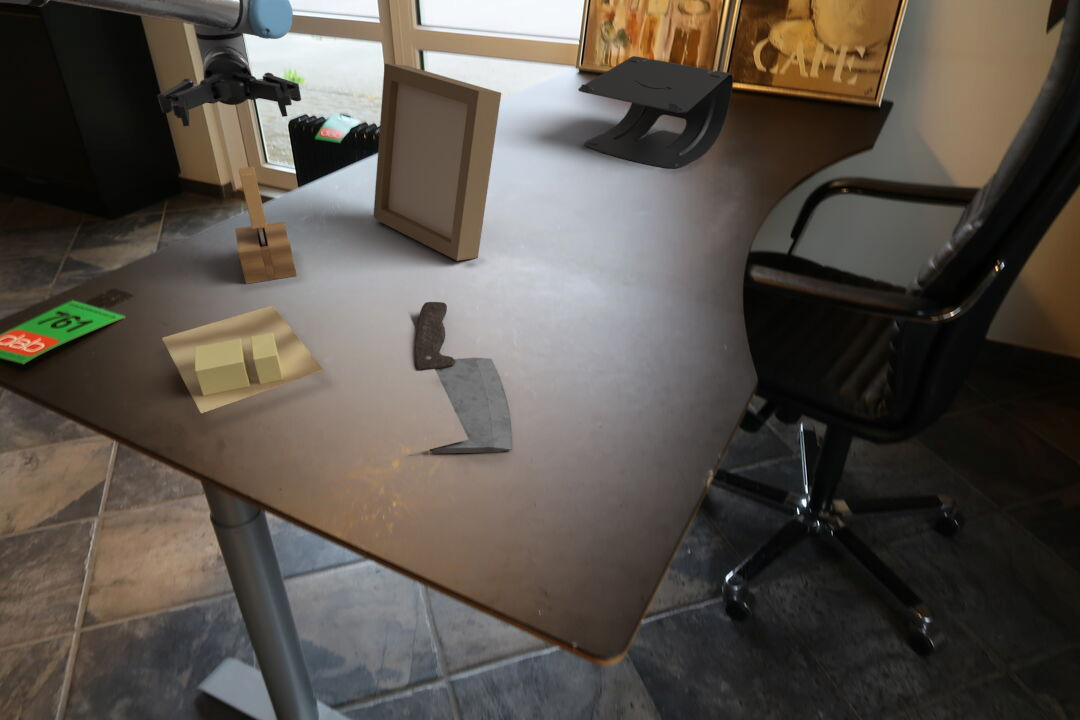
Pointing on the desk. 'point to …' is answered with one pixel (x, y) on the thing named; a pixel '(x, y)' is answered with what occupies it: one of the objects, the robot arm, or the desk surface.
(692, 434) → the desk surface
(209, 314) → the desk surface
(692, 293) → the desk surface
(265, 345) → the block
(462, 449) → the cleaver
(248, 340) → the board
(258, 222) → the knife
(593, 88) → the laptop stand
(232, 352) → the butter
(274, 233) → the knife block
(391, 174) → the photo frame
